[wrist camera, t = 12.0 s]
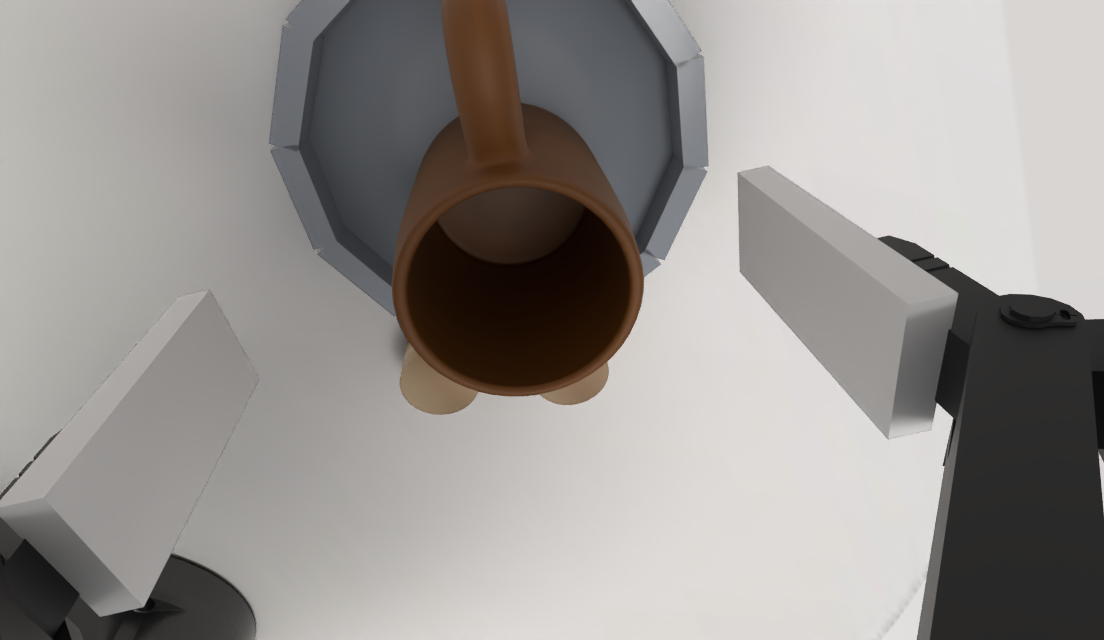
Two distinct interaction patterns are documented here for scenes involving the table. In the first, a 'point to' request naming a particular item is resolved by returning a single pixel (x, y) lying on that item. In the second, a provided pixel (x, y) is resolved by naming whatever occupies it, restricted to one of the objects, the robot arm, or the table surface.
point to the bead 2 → (580, 389)
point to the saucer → (429, 105)
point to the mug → (511, 233)
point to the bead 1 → (431, 387)
